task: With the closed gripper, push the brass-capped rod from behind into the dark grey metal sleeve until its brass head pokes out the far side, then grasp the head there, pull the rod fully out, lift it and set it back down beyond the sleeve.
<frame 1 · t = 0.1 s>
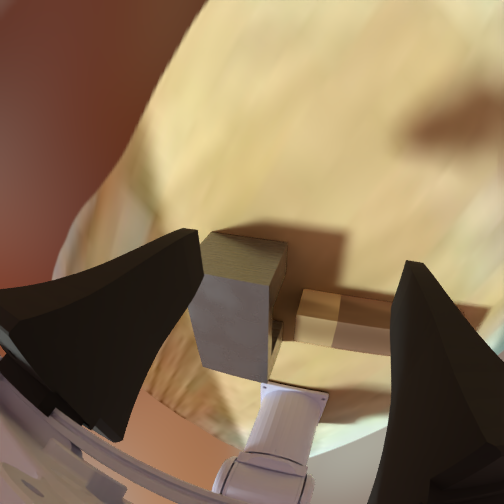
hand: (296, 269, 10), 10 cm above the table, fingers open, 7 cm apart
sleeve housing: (250, 293, 25), on the table
capped rod: (384, 315, 22), on the table
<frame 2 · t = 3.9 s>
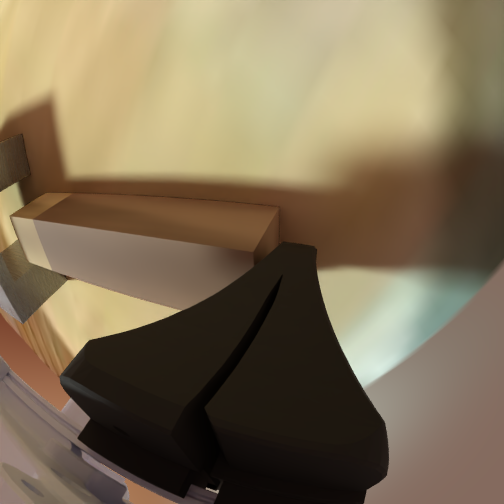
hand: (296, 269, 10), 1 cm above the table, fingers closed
sleeve housing: (22, 211, 16), on the table
capped rod: (132, 224, 13), on the table, touching gripper
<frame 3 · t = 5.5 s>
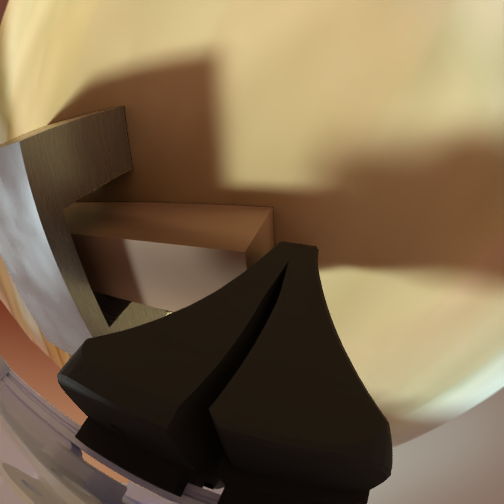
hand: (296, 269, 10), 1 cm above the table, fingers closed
sleeve housing: (100, 220, 14), on the table
capped rod: (131, 230, 13), on the table, touching gripper
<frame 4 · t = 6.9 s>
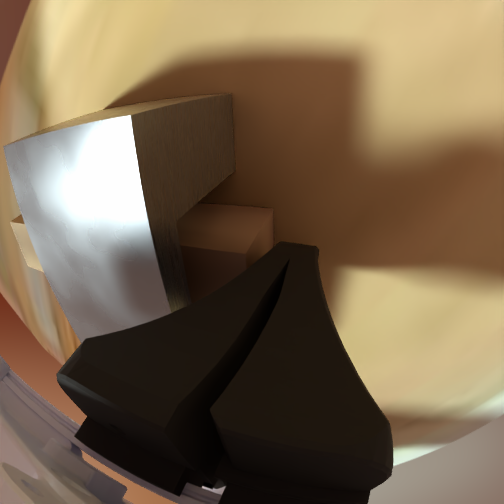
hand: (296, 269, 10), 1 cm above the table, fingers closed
sleeve housing: (173, 229, 12), on the table
capped rod: (130, 228, 13), on the table, touching gripper
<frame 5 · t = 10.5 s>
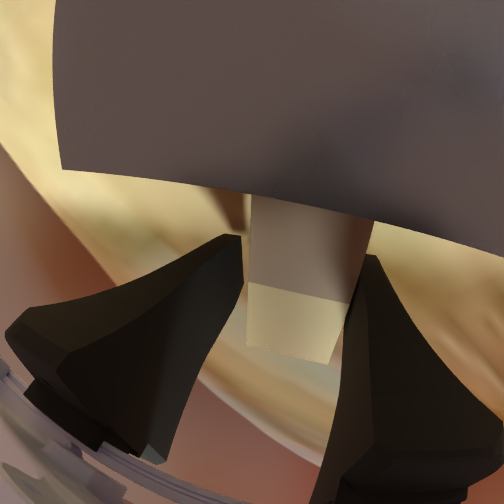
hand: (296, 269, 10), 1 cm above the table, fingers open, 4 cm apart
sleeve housing: (330, 50, 7), on the table
capped rod: (329, 131, 8), on the table, touching gripper
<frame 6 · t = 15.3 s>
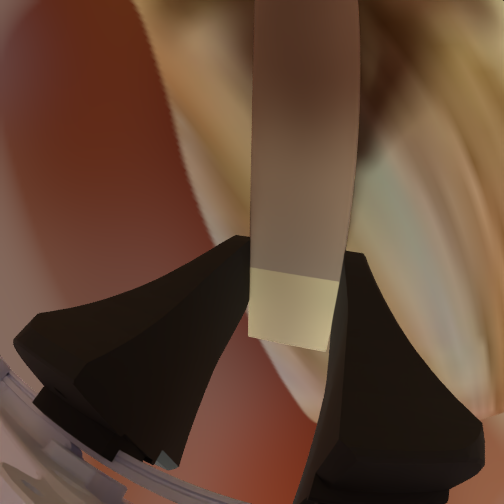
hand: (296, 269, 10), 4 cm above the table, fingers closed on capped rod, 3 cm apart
capped rod: (315, 142, 10), point 1 cm above the table, tilted 9°, touching gripper
when the fingers open (3 cm above the table, at t = 15.9 s): capped rod stays where it is, on the table.
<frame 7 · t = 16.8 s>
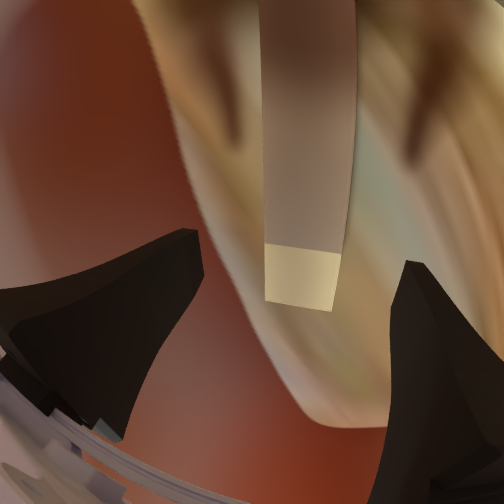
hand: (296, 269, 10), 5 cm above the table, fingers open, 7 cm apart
capped rod: (316, 130, 11), on the table
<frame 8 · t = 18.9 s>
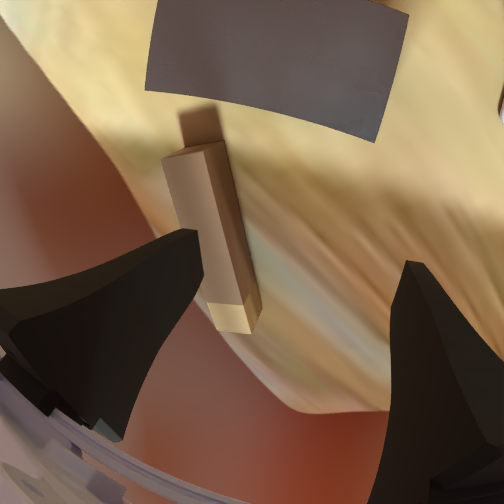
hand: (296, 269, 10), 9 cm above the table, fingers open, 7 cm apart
sleeve housing: (286, 52, 14), on the table
capped rod: (227, 236, 22), on the table
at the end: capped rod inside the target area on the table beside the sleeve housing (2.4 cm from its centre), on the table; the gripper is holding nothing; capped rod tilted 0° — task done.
